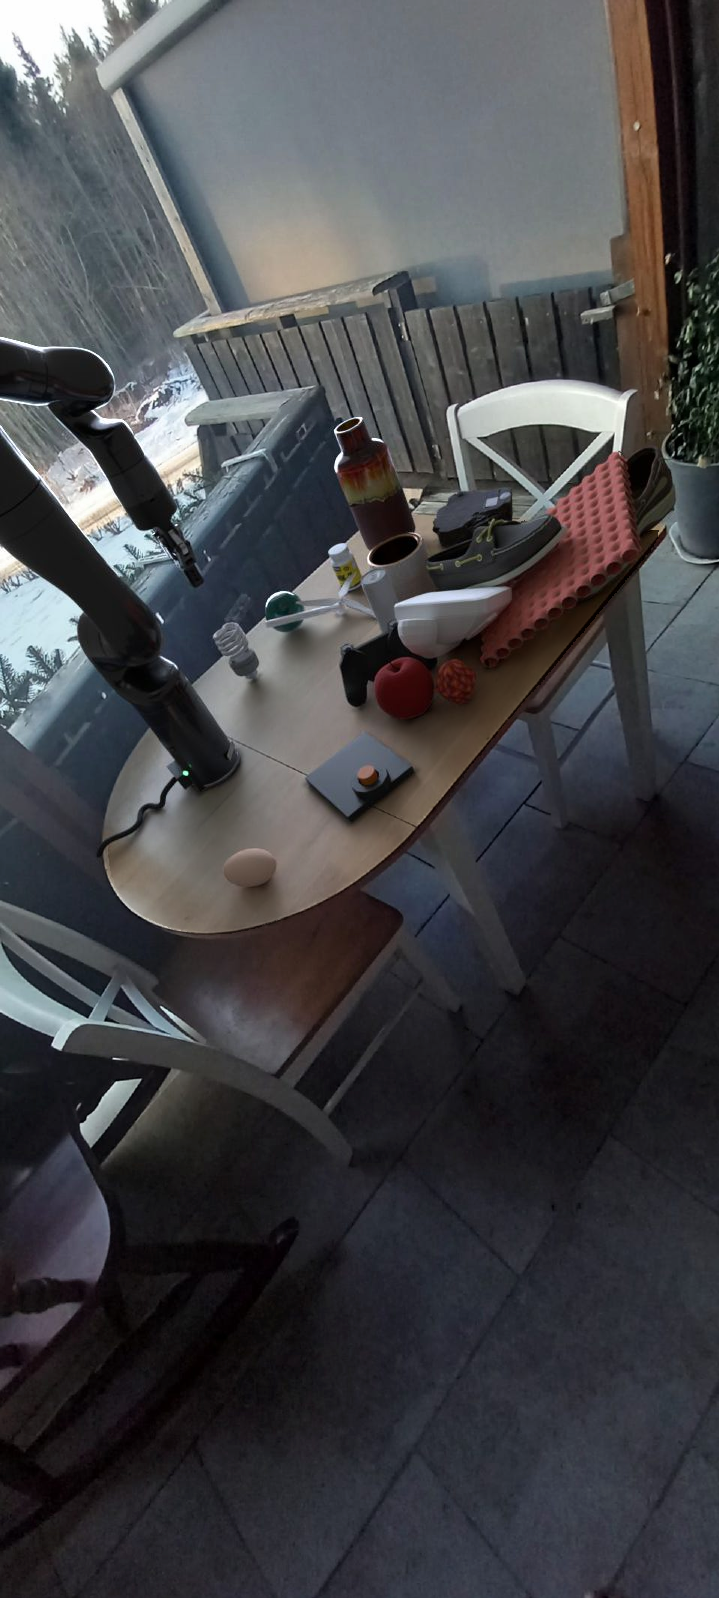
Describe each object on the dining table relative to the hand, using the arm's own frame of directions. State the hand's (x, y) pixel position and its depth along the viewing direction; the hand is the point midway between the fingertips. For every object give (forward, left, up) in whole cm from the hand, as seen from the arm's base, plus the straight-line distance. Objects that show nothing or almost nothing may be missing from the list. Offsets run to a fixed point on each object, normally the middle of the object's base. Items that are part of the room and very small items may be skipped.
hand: (198, 584), depth 129 cm
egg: (-20, -48, -18) cm, 55 cm away
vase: (+41, +8, -21) cm, 47 cm away
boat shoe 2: (+57, -36, -21) cm, 71 cm away
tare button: (-2, -46, -19) cm, 50 cm away
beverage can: (+23, -17, -21) cm, 36 cm away
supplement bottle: (+29, +7, -21) cm, 36 cm away
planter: (+32, -9, -21) cm, 40 cm away
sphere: (+13, +6, -21) cm, 26 cm away
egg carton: (+43, -39, -14) cm, 60 cm away
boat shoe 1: (+39, -31, -15) cm, 52 cm away
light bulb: (0, 0, -21) cm, 21 cm away
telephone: (+28, -33, -11) cm, 44 cm away
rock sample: (+54, -3, -21) cm, 58 cm away
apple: (+12, -37, -21) cm, 44 cm away
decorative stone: (+18, -43, -21) cm, 51 cm away
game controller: (+15, -26, -21) cm, 37 cm away
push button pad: (-2, -42, -21) cm, 47 cm away
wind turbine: (+7, +2, -15) cm, 17 cm away
